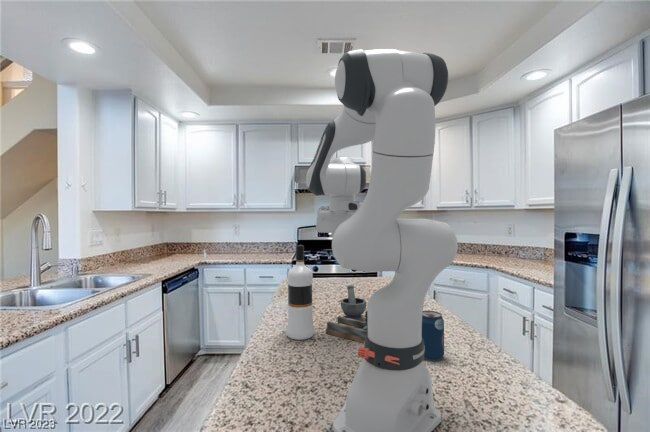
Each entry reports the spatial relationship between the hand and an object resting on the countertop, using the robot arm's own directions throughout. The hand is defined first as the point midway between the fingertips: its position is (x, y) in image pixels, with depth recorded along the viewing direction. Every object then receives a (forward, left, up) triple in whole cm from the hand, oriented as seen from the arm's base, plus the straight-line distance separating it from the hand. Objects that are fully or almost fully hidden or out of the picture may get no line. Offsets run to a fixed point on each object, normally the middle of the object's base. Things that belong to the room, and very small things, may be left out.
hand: (342, 246), depth 106 cm
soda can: (-2, -30, -29) cm, 42 cm away
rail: (0, -5, -29) cm, 30 cm away
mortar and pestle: (+14, +4, -29) cm, 33 cm away
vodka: (-10, +10, -29) cm, 33 cm away
